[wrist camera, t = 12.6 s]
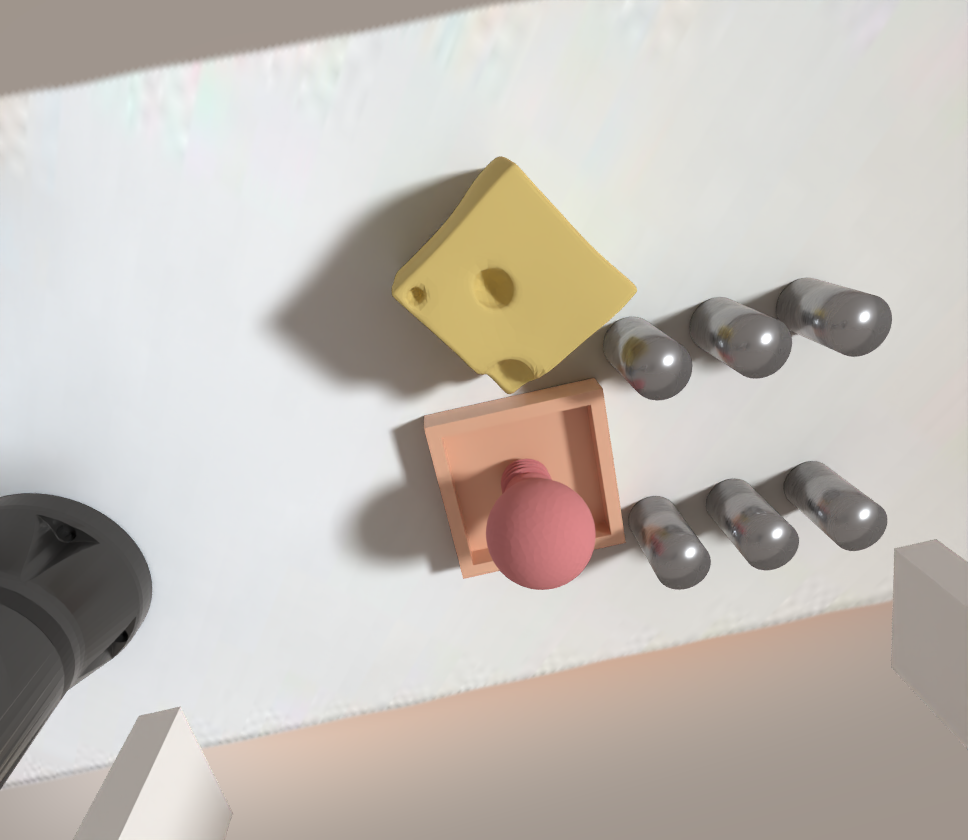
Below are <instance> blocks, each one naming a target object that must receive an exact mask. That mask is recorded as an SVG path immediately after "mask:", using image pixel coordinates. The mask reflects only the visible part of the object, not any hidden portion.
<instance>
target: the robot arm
mask: <svg viewBox="0 0 968 840" xmlns="http://www.w3.org/2000/svg"><path fill="white" fill-rule="evenodd" d="M151 598H152V581H151V575H150V571H149V568H148V565H147V563H146V560H145V558H144V556H143V554H142V552H141V551H140V549H139V548H138V546H137V545H136V543H135V542H134V541H133V540H132V538H131V537H130V536H129V535H128V534H127V533H126V532H125V531H124V530H123V529H122V528H121V527H120V526H119V525H118V524H116V523H115V522H114V521H113V520H111V519H110V518H108V517H107V516H105V515H104V514H102V513H100V512H99V511H97V510H95V509H93V508H91V507H89V506H87V505H85V504H82V503H79V502H77V501H74V500H71V499H67V498H63V497H59V496H54V495H47V494H16V495H10V496H5V497H1V498H0V789H1V788H2V786H3V785H4V783H5V782H6V780H7V779H8V778H9V776H10V775H11V773H12V772H13V770H14V769H15V767H16V766H17V764H18V763H19V761H20V760H21V758H22V757H23V755H24V754H25V752H26V751H27V749H28V748H29V746H30V745H31V744H32V742H33V741H34V739H35V738H36V736H37V735H38V733H39V732H40V730H41V729H42V727H43V726H44V724H45V723H46V721H47V720H48V718H49V717H50V715H51V714H52V712H53V711H54V709H55V708H56V707H57V705H58V703H59V702H60V700H61V699H62V698H63V696H64V695H65V693H66V692H67V691H68V690H69V689H70V688H72V687H73V686H75V685H76V684H77V683H79V682H80V681H82V680H83V679H84V678H86V677H87V676H89V675H90V674H91V673H93V672H94V671H96V670H97V669H99V668H100V667H101V666H103V665H104V664H106V663H107V662H108V661H110V660H111V659H113V658H114V657H115V656H116V655H117V654H119V653H120V652H121V651H122V650H123V649H124V648H125V647H126V646H127V644H128V643H129V642H130V641H131V639H132V638H133V636H134V635H135V633H136V632H137V630H138V629H139V627H140V626H141V624H142V622H143V621H144V619H145V617H146V615H147V613H148V610H149V607H150V603H151ZM892 617H893V618H892V654H891V668H892V669H893V670H894V671H895V672H896V673H897V674H898V675H899V676H900V678H901V679H902V680H903V681H904V682H905V683H906V684H907V685H908V686H909V687H910V688H911V689H912V690H913V692H914V693H915V694H916V695H917V696H918V697H919V698H920V699H921V700H922V701H923V702H924V703H925V704H926V706H928V708H929V709H930V710H931V711H932V712H933V713H934V714H935V715H936V716H937V717H938V718H939V719H940V721H941V722H942V723H943V724H944V725H945V726H946V727H947V728H948V729H949V730H950V731H951V732H952V733H953V735H954V736H955V737H956V738H957V739H958V740H959V741H960V742H961V743H962V744H963V745H964V746H965V748H967V750H968V562H967V561H965V560H964V559H963V558H961V557H960V556H959V555H957V554H956V553H954V552H953V551H952V550H950V549H949V548H948V547H946V546H945V545H943V544H942V543H941V542H939V541H938V540H937V539H935V540H930V541H926V542H921V543H917V544H912V545H908V546H903V547H899V548H894V580H893V616H892ZM232 814H233V812H232V810H231V808H230V806H229V804H228V802H227V800H226V798H225V796H224V794H223V792H222V790H221V788H220V786H219V784H218V782H217V780H216V778H215V776H214V774H213V772H212V770H211V768H210V766H209V764H208V762H207V760H206V758H205V756H204V754H203V752H202V749H201V747H200V745H199V743H198V741H197V739H196V737H195V735H194V733H193V731H192V729H191V727H190V725H189V723H188V721H187V719H186V717H185V715H184V713H183V711H182V709H181V707H177V708H173V709H168V710H164V711H159V712H155V713H150V714H146V715H141V716H139V717H138V719H137V720H136V722H135V724H134V726H133V728H132V730H131V732H130V734H129V735H128V737H127V739H126V741H125V743H124V745H123V747H122V748H121V750H120V752H119V754H118V756H117V758H116V760H115V762H114V763H113V765H112V767H111V769H110V771H109V773H108V775H107V777H106V779H105V780H104V782H103V784H102V786H101V788H100V790H99V792H98V793H97V795H96V797H95V799H94V801H93V803H92V805H91V806H90V808H89V810H88V812H87V814H86V816H85V818H84V819H83V821H82V824H81V825H80V827H79V829H78V831H77V833H76V835H75V837H74V838H73V840H225V837H226V834H227V831H228V827H229V824H230V821H231V818H232Z"/></svg>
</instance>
